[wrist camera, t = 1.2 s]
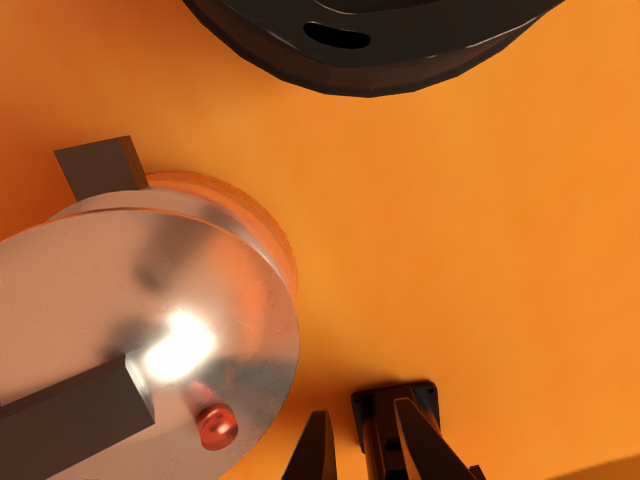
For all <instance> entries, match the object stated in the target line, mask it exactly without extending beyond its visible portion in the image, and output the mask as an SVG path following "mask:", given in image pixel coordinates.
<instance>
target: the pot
mask: <svg viewBox="0 0 640 480" xmlns="http://www.w3.org/2000/svg"><path fill="white" fill-rule="evenodd" d="M54 153H55V155H56V158H57V160H58V162H59V164H60V166H61V168H62V170H63V172H64V174H65V176H66V178H67V181H68V183H69V185H70V187H71V189H72V191H73V193H74V195H75V197H76V199H77V201H78V202H77V203H75V204H73V205H70V206H68V207H66V208H64V209H62V210H61V211H59V212H58V213H56V214H55V215H53V216H52V217H50V218H49V219H48V220H47V221H49V220H52V219H56V218H59V217H62V216H65V215H70V214H75V213H80V212H85V211H90V210H96V209H107V208H118V207H141V208H156V209H163V210H170V211H176V212H180V213H184V214H188V215H192V216H195V217H199V218H201V219H204V220H206V221H209V222H211V223H214V224H216V225H219V226H221V227H223V228H224V229H226V230H228V231H230V232H231V233H233V234H235V235H237V236H238V237H239V238H241V239H242V240H243V241H245V242H246V243H247V244H249V245H250V246H251V247H253V248H254V249H255V250H256V251H257V252H258V253H259V254H260V255H261V256H262V257H263V258H264V259H265V260H266V261H267V262H268V263H269V264H270V265H271V266H272V267H273V268H274V270H275V271H276V273H277V274H278V275H279V277H280V278H281V279H282V281H283V283H284V285H285V286H286V288H287V290H288V292H289V294H290V296H291V299H292V302H293V305H294V306H295V298H296V290H297V270H296V264H295V259H294V256H293V253H292V249H291V247H290V245H289V242H288V240H287V238H286V236H285V234H284V233H283V231H282V230H281V228H280V227H279V225H278V224H277V222H276V221H275V220H274V219H273V217H272V216H271V215H270V214H269V213H268V212H267V211H266V210H265V209H264V208H263V207H262V206H261V205H260V204H259V203H258V202H257V201H255V200H254V199H252V198H251V197H250V196H248V195H247V194H245V193H244V192H242V191H241V190H239V189H237V188H235V187H233V186H232V185H230V184H227V183H225V182H222V181H220V180H217V179H215V178H211V177H208V176H204V175H200V174H194V173H187V172H162V173H154V174H149V175H145V174H144V171H143V168H142V166H141V163H140V161H139V158H138V156H137V153H136V150H135V148H134V145H133V143H132V140H131V137H130V135H129V136H124V137H118V138H113V139H108V140H103V141H98V142H94V143H89V144H84V145H79V146H74V147H70V148H65V149H60V150H55V151H54Z"/></svg>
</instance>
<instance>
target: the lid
mask: <svg viewBox="0 0 640 480" xmlns="http://www.w3.org/2000/svg"><path fill="white" fill-rule="evenodd" d="M298 353H299V326H298V321H297V315H296V311H295V308H294V305H293V302H292V299H291V296H290V294H289V292H288V290H287V288H286V286H285V285H284V283H283V281H282V279H281V278H280V277H279V275H278V274H277V273H276V271H275V270H274V268H273V267H272V266H271V265H270V264H269V263H268V262H267V261H266V260H265V259H264V258H263V257H262V256H261V255H260V254H259V253H258V252H257V251H256V250H255V249H254V248H253V247H251V246H250V245H249V244H247V243H246V242H245V241H243V240H242V239H241V238H239V237H238V236H237V235H235V234H233V233H231V232H230V231H228V230H226V229H224V228H223V227H221V226H219V225H216V224H214V223H211V222H209V221H206V220H204V219H201V218H199V217H195V216H192V215H188V214H184V213H180V212H176V211H170V210H163V209H156V208H141V207H118V208H107V209H96V210H90V211H85V212H80V213H75V214H70V215H65V216H62V217H59V218H56V219H52V220H49V221H46V222H43V223H40V224H37V225H34V226H32V227H30V228H27V229H25V230H23V231H21V232H19V233H17V234H14V235H12V236H10V237H8V238H6V239H4V240H2V241H0V480H217V479H218V478H219V477H220V476H222V475H223V474H224V473H226V472H227V471H228V470H229V469H231V468H232V467H233V466H234V465H235V464H236V463H237V462H238V461H239V460H240V459H242V458H243V457H244V456H245V455H246V454H247V453H248V452H249V451H250V449H251V448H252V447H253V446H254V445H255V444H256V443H257V442H258V441H259V440H260V438H261V437H262V436H263V434H264V433H265V432H266V430H267V429H268V428H269V426H270V425H271V424H272V422H273V420H274V419H275V417H276V416H277V414H278V412H279V411H280V409H281V407H282V405H283V403H284V401H285V399H286V397H287V395H288V392H289V390H290V387H291V384H292V381H293V378H294V375H295V370H296V366H297V362H298Z"/></svg>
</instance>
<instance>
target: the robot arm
mask: <svg viewBox="0 0 640 480" xmlns="http://www.w3.org/2000/svg"><path fill="white" fill-rule="evenodd" d="M430 388H431V389H430ZM351 403H352V407H353V412H354V417H355V422H356V427H357V431H358V436H359V441H360V446H361V450H362V453H364V454H365V456H366V464H367V471H368V479H369V480H486V479H485V477H484V475H483V473H482V471H481V469H480V467H479V465H475V466H470V468H469V469H468V468H467V467H466V466H465V465H464V463H463V462H462V461H461V460H460V459H459V457H458V456H457V455H456V454H455V453H454V451H453V450H452V449H451V448H450V447H449V445H448V444H447V443H446V442H445V441H444V439H443V438H442V435H441V431H440V418H439V405H438V392H437V388H436V385H435V384H434V383H433V382H423V383H416V384H409V385H402V386H396V387H389V388H382V389H375V390H368V391H361V392H355V393H353V394H352V395H351ZM281 480H337V470H336V458H335V447H334V436H333V430H332V426H331V422H330V418H329V414H328V411H327V410H326V409H322V410H315V411H313V412H312V413H311V415H310V417H309V419H308V421H307V423H306V426H305V428H304V430H303V432H302V434H301V437H300V439H299V441H298V443H297V445H296V447H295V450H294V452H293V454H292V456H291V458H290V460H289V463H288V465H287V467H286V469H285V471H284V474H283V476H282V478H281Z"/></svg>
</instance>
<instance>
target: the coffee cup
mask: <svg viewBox="0 0 640 480" xmlns="http://www.w3.org/2000/svg"><path fill="white" fill-rule="evenodd" d="M182 1H183V2H184V3H185V4H186V6H187V7H188V8H189V9H190V11H191V12H192V13H193V14H194V15H195V17H196V18H197V19H198V20H199V21H200V23H201V24H203V25H204V26H205V27H206V28H207V29H209V30H210V31H211V32H212V33H213V34H214V35H216V36H217V37H218V38H219V39H220V40H221V41H223V42H224V43H225V44H226V45H227V46H228V47H230V48H231V49H232V50H233V51H234V52H235V53H237V54H238V55H239V56H240V57H242V58H243V59H245V60H247V61H249V62H250V63H252V64H254V65H256V66H257V67H259V68H261V69H263V70H264V71H266V72H268V73H270V74H271V75H273V76H275V77H277V78H278V79H280V80H282V81H285V82H288V83H291V84H294V85H298V86H301V87H304V88H307V89H310V90H313V91H316V92H319V93H323V94H328V95H340V96H352V97H364V98H372V97H379V96H387V95H394V94H401V93H409V92H414V91H417V90H420V89H423V88H426V87H429V86H432V85H434V84H437V83H440V82H443V81H446V80H449V79H451V78H454V77H457V76H459V75H461V74H463V73H464V72H466V71H468V70H470V69H471V68H473V67H475V66H476V65H478V64H480V63H482V62H483V61H485V60H487V59H488V58H490V57H492V56H494V55H495V54H497V53H499V52H500V51H502V50H503V49H504V48H506V47H507V46H508V45H509V44H510V43H512V42H513V41H514V40H515V39H516V38H517V37H519V36H520V35H521V34H522V33H523V32H524V31H526V30H527V29H528V28H529V27H530V26H532V25H533V24H534V23H535V22H536V21H537V20H539V19H540V18H541V17H542V16H543V15H544V14H546V13H547V12H548V11H550V10H551V9H553V8H554V7H556V6H558V5H559V4H560V3H562V2H563V1H565V0H182Z"/></svg>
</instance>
